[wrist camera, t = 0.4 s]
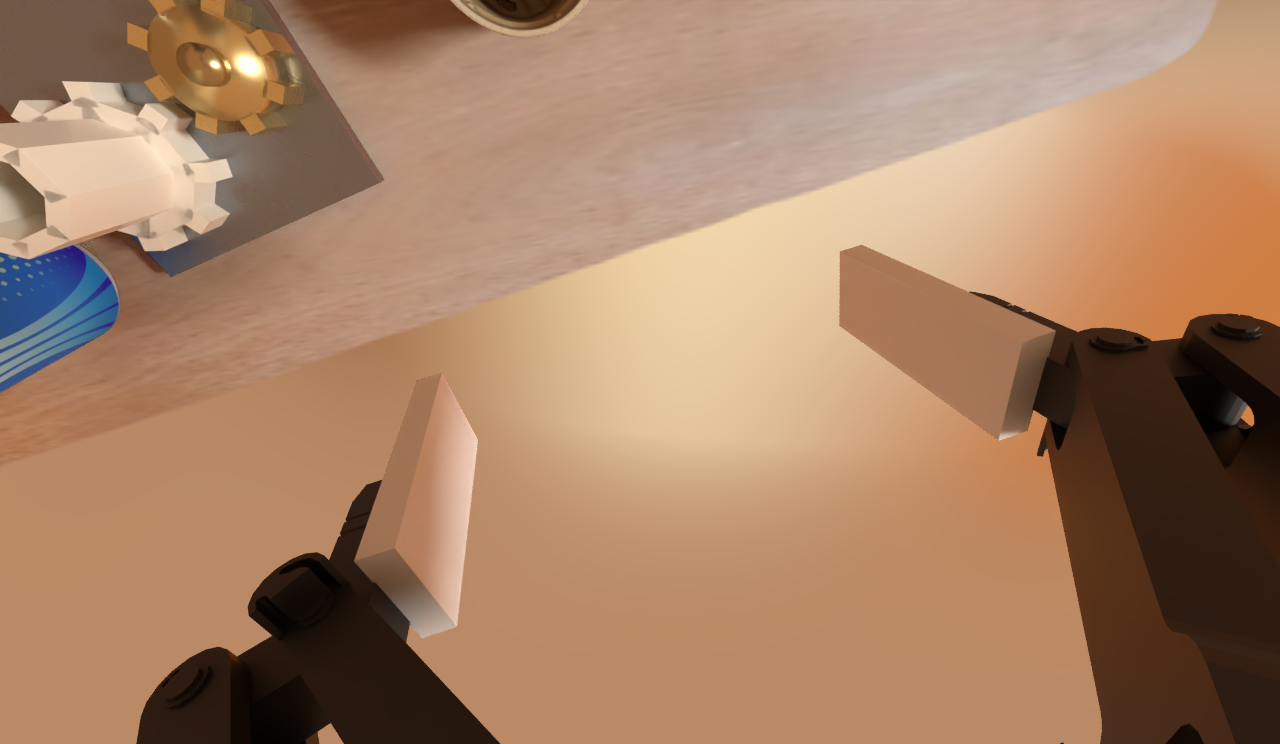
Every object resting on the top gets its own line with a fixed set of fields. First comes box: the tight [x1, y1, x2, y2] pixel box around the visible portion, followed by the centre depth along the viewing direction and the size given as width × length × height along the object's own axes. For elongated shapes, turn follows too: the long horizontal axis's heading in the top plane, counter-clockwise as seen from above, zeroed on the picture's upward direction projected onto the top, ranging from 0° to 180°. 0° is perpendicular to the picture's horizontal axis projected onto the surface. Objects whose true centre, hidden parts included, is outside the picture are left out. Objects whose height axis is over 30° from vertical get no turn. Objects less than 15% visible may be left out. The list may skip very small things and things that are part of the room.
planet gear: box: [0, 81, 233, 259], centre depth 26 cm, size 9×9×10 cm
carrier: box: [0, 0, 384, 277], centre depth 26 cm, size 22×16×6 cm
